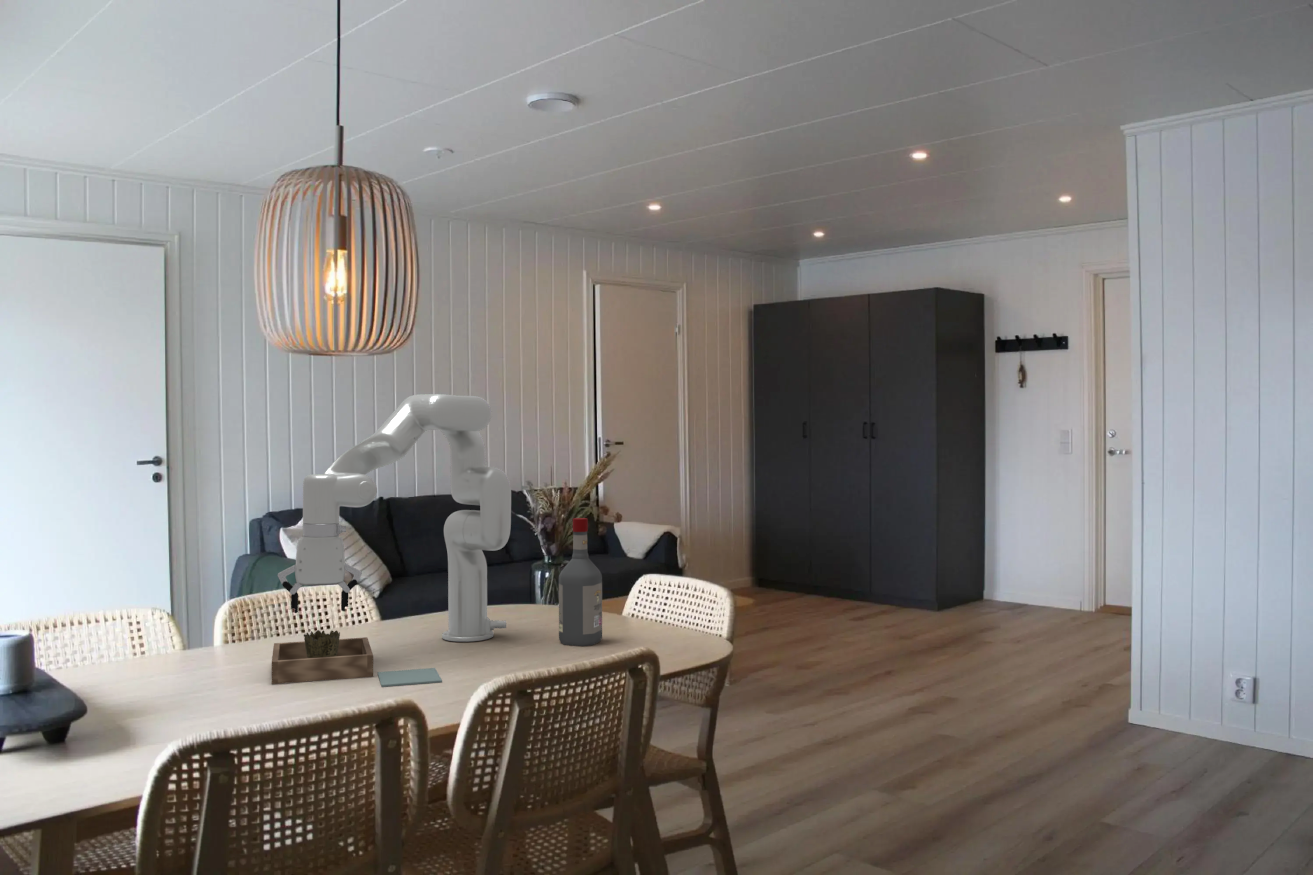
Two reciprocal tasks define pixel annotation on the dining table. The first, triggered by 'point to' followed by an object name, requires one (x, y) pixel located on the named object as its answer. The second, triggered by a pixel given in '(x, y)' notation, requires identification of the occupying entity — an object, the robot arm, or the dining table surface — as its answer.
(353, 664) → the walnut box
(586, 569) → the liquor
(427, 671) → the mat
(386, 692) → the dining table surface
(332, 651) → the cup
